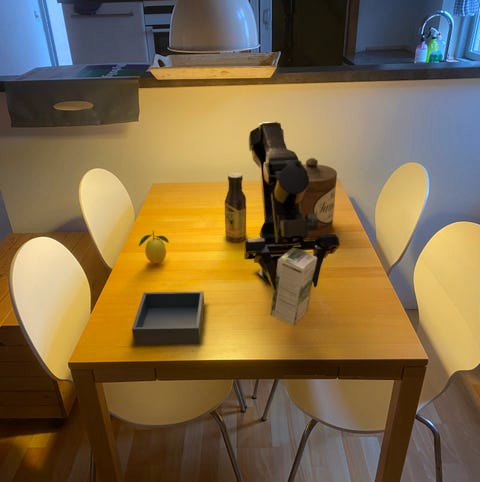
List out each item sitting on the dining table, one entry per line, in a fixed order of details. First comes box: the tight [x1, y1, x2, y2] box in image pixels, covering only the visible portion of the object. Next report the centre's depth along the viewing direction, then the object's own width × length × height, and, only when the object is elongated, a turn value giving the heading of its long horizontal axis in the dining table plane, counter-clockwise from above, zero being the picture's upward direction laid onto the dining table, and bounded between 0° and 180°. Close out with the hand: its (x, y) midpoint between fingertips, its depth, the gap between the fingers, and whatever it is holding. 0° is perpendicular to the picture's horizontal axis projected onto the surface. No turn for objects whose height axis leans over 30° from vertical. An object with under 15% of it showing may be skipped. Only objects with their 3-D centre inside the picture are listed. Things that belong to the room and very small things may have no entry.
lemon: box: [138, 230, 170, 264], centre depth 127 cm, size 7×6×10 cm
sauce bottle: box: [224, 172, 247, 243], centre depth 136 cm, size 7×6×20 cm
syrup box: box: [270, 248, 317, 327], centre depth 95 cm, size 6×6×14 cm
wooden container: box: [300, 157, 338, 240], centre depth 140 cm, size 15×15×22 cm
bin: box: [131, 291, 205, 346], centre depth 105 cm, size 14×14×4 cm
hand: (295, 288), depth 93 cm, fingers closed on syrup box, 8 cm apart
